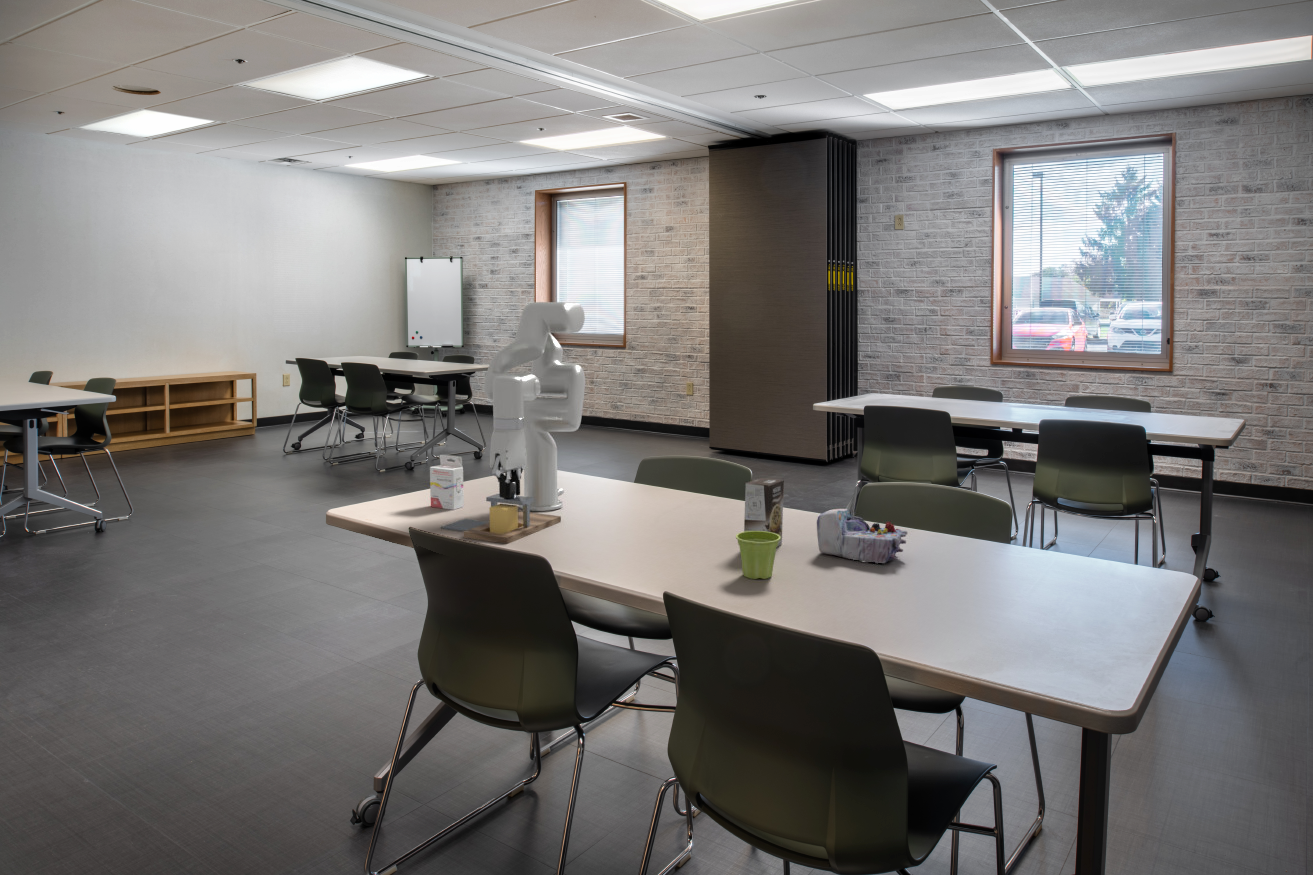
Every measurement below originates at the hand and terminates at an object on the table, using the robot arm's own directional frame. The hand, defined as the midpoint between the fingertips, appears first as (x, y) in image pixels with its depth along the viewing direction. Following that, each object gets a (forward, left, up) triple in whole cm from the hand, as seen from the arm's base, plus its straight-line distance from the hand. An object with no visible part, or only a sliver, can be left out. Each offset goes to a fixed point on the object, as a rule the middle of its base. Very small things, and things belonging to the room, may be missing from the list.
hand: (509, 495), depth 218 cm
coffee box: (-14, +63, -9) cm, 65 cm away
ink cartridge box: (-15, -32, -9) cm, 37 cm away
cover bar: (0, 0, -8) cm, 8 cm away
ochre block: (+3, 0, -9) cm, 10 cm away
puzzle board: (-2, 0, -9) cm, 9 cm away
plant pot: (+9, +69, -9) cm, 70 cm away
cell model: (-16, +86, -10) cm, 88 cm away
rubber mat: (+1, -12, -9) cm, 16 cm away
